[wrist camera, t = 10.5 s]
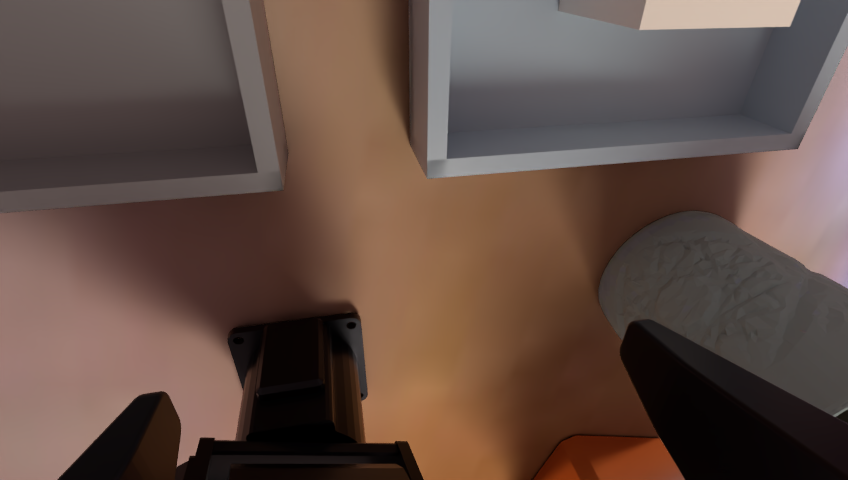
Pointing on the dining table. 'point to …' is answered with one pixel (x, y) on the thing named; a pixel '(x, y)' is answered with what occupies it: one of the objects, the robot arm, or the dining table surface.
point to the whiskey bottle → (610, 460)
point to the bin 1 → (136, 102)
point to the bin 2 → (606, 86)
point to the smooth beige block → (685, 13)
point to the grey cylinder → (735, 303)
